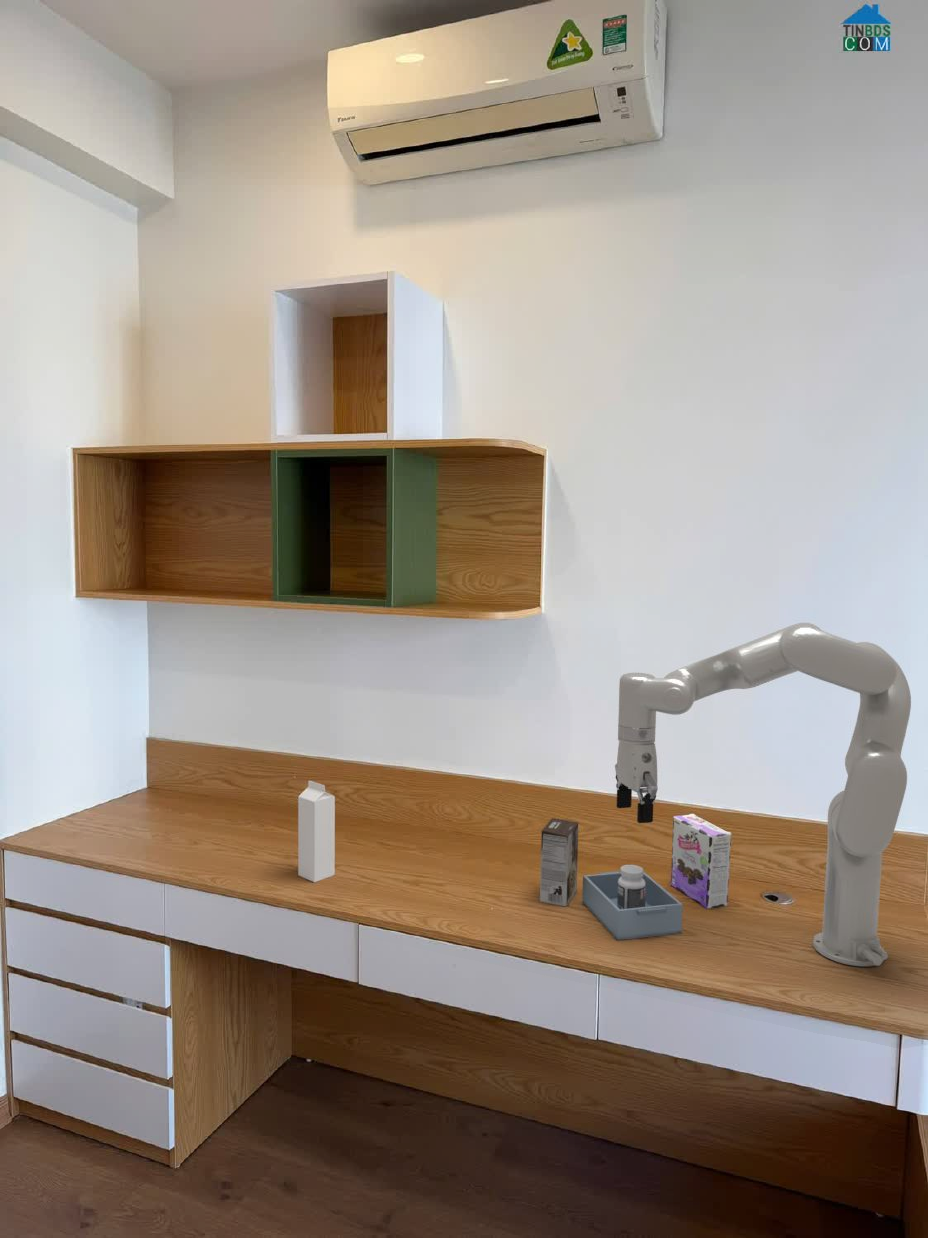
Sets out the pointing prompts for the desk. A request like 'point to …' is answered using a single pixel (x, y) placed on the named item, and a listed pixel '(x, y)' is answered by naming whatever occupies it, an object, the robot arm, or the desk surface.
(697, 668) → the robot arm
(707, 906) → the candy box
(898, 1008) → the desk surface
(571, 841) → the coffee box
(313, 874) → the milk
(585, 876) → the tote
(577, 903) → the desk surface
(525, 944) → the desk surface
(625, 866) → the pill bottle
